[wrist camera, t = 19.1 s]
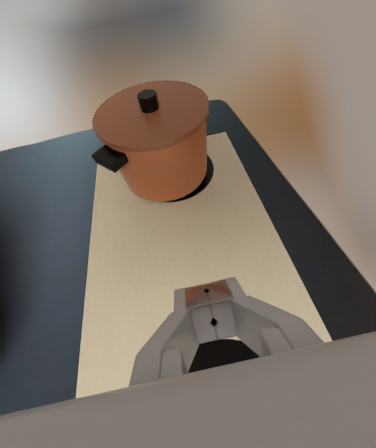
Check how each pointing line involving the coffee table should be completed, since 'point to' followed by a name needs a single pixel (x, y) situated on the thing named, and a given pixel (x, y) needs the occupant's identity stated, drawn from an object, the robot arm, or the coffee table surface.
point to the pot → (155, 138)
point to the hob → (176, 263)
